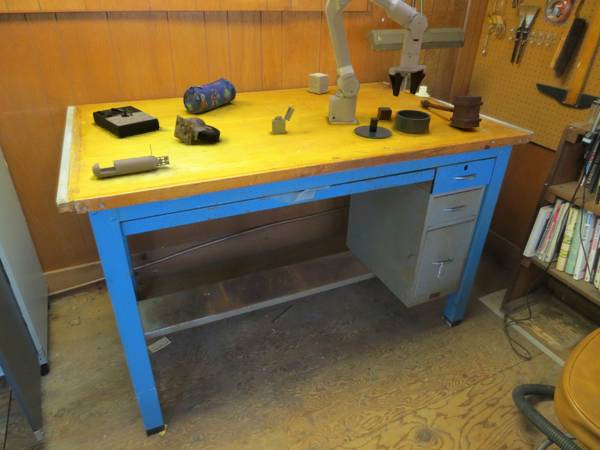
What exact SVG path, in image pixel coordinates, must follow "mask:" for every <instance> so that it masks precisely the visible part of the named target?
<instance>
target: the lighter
mask: <svg viewBox="0 0 600 450" xmlns="http://www.w3.org/2000/svg"><path fill="white" fill-rule="evenodd" d="M294 112H295V108H294V107H293V106H288V108H287V110H286V112H285V115H284V117H283V116H282V115H276V116H274V118H272V119H271V133H272V135H280V134H285V133H286V127H287V125H286V123H287V122H286V121H288V122H290V121H291V119H292V116H293V114H294Z"/></svg>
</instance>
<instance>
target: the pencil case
mask: <svg viewBox="0 0 600 450" xmlns="http://www.w3.org/2000/svg"><path fill="white" fill-rule="evenodd" d="M236 97H237V89H236V87H235V85H234V83H232V82H231V81H230V80H228V79H226V78H225V77H221V78H218V79H216V80H215V81H213V82H210V83H206V84H202V85H195V84H193V85H191V86H190V87H188V88H187V89H186V90H185V92H184V93H183V96H182V102H183V106H184V108H185V109H186V111H187V112H189V113H190V114H192V115H195V114H200V113H202V112H206V111H210V110H212V109H216V108H218V107H220V106H223V105H225V104H229V103H231V102H233V101H234V100H235V99H236Z"/></svg>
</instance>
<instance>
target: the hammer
mask: <svg viewBox="0 0 600 450" xmlns="http://www.w3.org/2000/svg"><path fill="white" fill-rule="evenodd" d="M453 98H454V101H452V102H451V105H452V106H453V107H451V106H450V107H449V106H445V105H440V104H436V103H432V102H431V101H430V100H428V99H424V100H422V99H421V100H420V106H422V108H429V109H435V110H439V111H443V112H449V113H452V116H450V117H449V122H450V124H449V126H450V127H455V128H461V129H473V128H474V129H475V128H476V129H477V128H480V123H482V121H483V118H480V111H481V106H483V105H484V101H483V102H482V99H483V96H480V95H479V96H478V95H454V97H453Z"/></svg>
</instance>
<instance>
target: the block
mask: <svg viewBox="0 0 600 450" xmlns="http://www.w3.org/2000/svg"><path fill="white" fill-rule="evenodd" d="M392 113H393V110H392V108H391V107H389V106H386V107H385V106H378V107H377V114H376V118H377V119H378V121H391V120H392Z"/></svg>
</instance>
